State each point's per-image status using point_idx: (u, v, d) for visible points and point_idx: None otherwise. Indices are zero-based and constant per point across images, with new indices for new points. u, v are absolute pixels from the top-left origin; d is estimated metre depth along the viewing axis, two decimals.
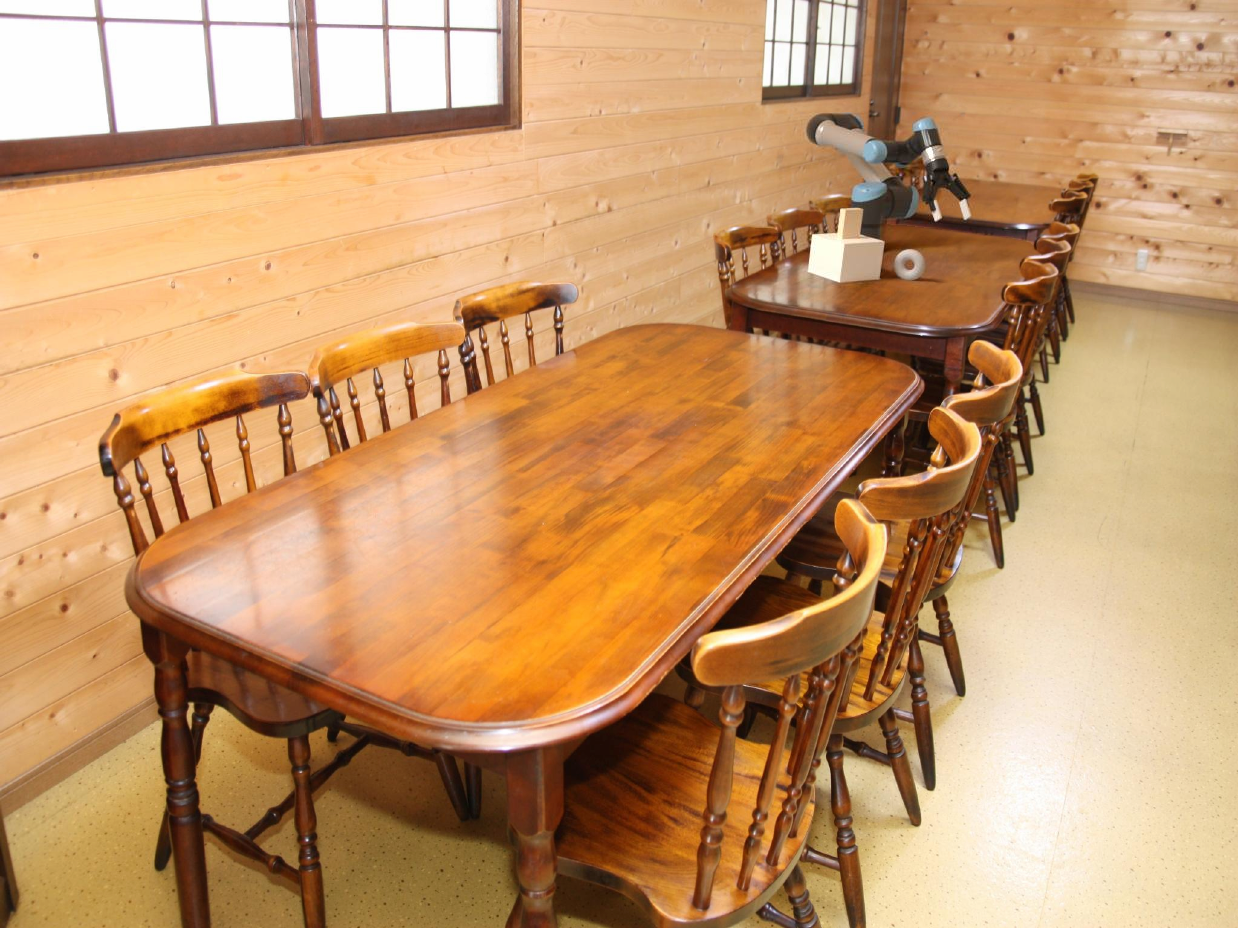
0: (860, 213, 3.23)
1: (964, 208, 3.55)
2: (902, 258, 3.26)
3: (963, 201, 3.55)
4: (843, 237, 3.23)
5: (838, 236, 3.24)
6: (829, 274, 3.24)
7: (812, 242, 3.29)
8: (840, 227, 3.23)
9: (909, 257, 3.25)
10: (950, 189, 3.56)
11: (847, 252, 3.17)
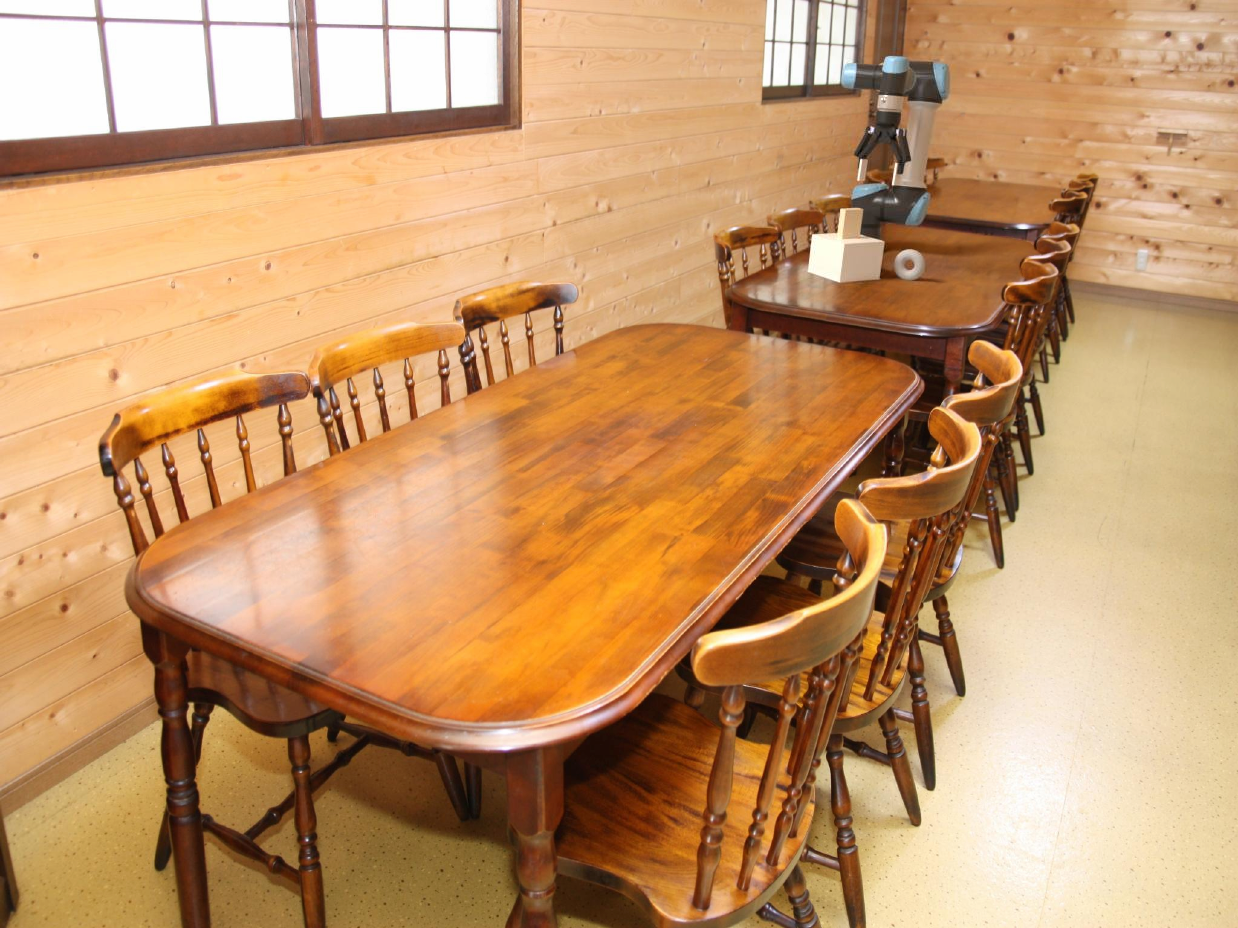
0: (860, 213, 3.23)
1: None
2: (902, 258, 3.26)
3: None
4: (843, 237, 3.23)
5: (838, 236, 3.24)
6: (829, 274, 3.24)
7: (812, 242, 3.29)
8: (840, 227, 3.23)
9: (909, 257, 3.25)
10: None
11: (847, 252, 3.17)
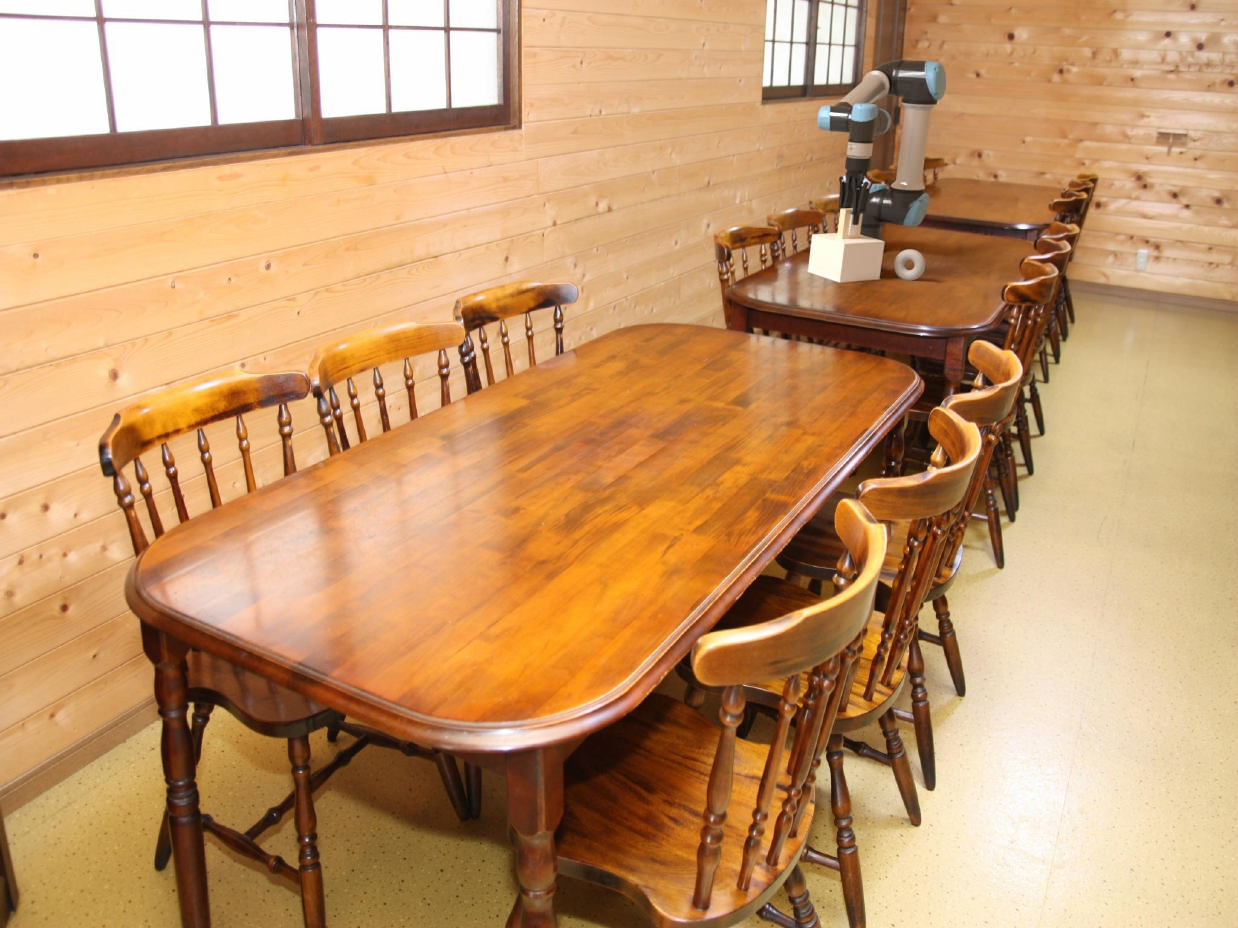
0: None
1: None
2: (902, 258, 3.26)
3: None
4: (843, 237, 3.23)
5: (838, 236, 3.24)
6: (829, 274, 3.24)
7: (812, 242, 3.29)
8: (840, 227, 3.23)
9: (909, 257, 3.25)
10: None
11: (847, 252, 3.17)
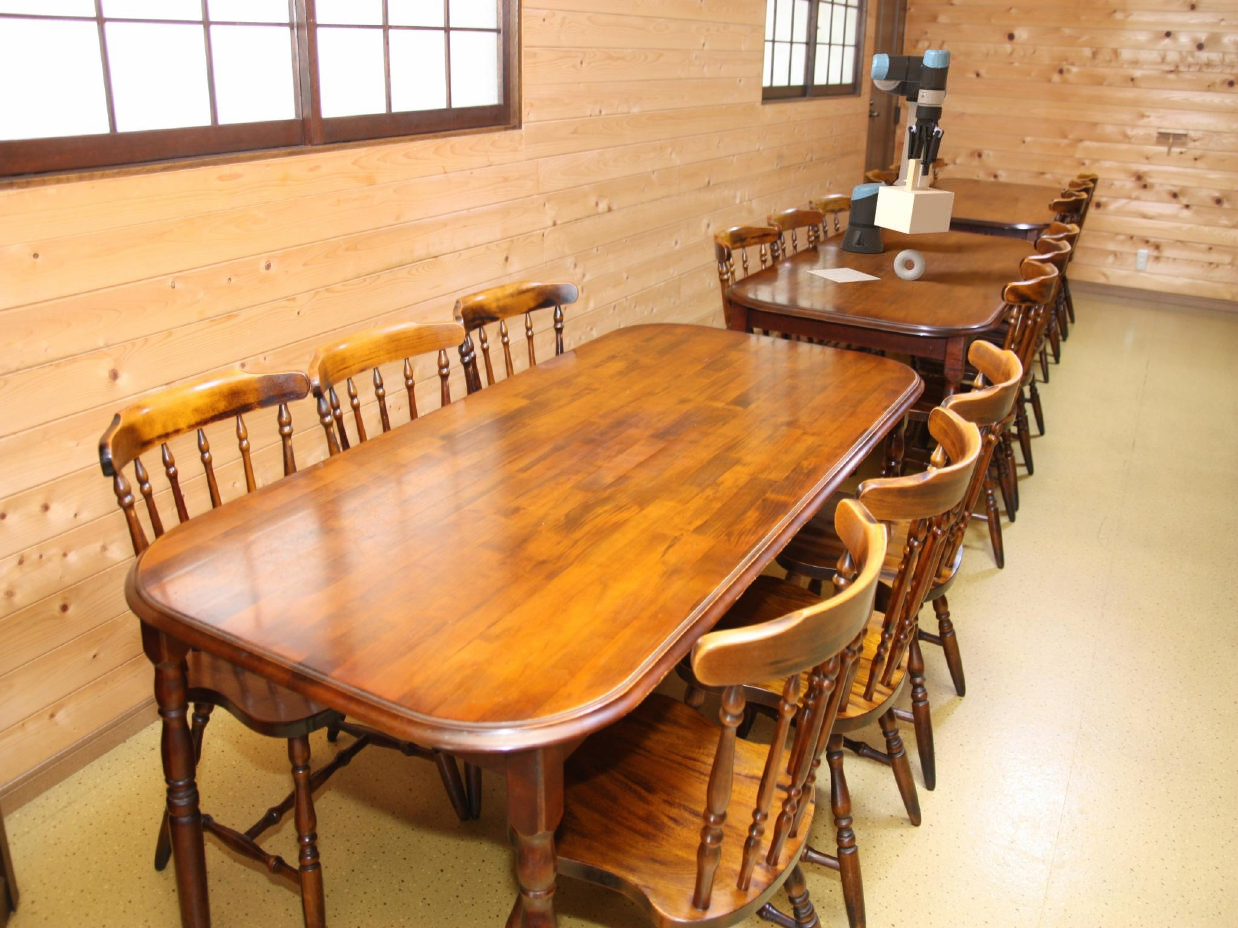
0: None
1: None
2: (902, 258, 3.26)
3: None
4: (912, 188, 3.16)
5: (907, 187, 3.17)
6: (897, 226, 3.17)
7: (879, 194, 3.22)
8: (909, 178, 3.15)
9: (909, 257, 3.25)
10: None
11: (917, 203, 3.10)
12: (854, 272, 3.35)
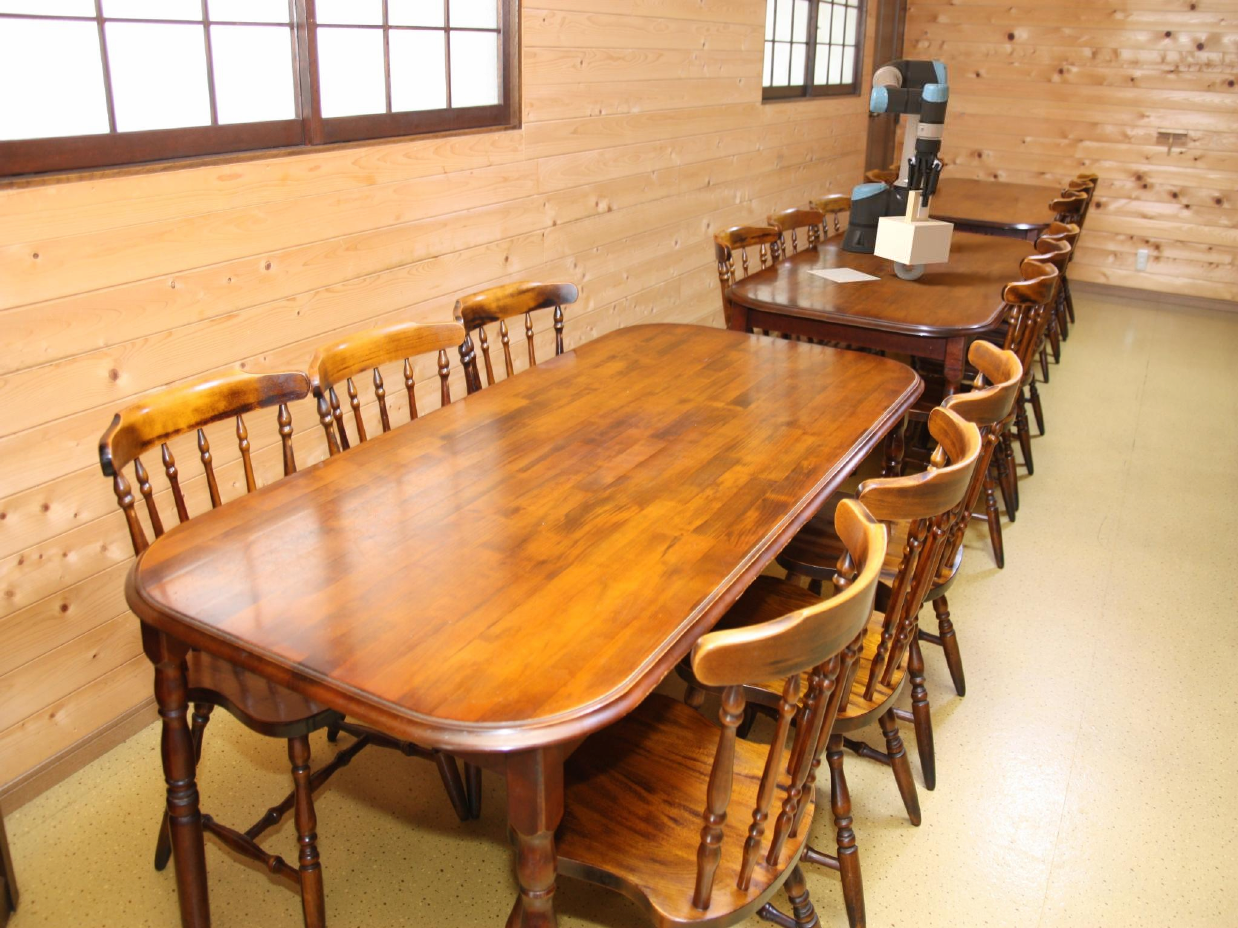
0: None
1: None
2: None
3: None
4: (912, 220, 3.19)
5: (907, 218, 3.20)
6: (897, 257, 3.20)
7: (879, 225, 3.25)
8: (909, 209, 3.19)
9: None
10: None
11: (917, 234, 3.13)
12: (854, 272, 3.35)
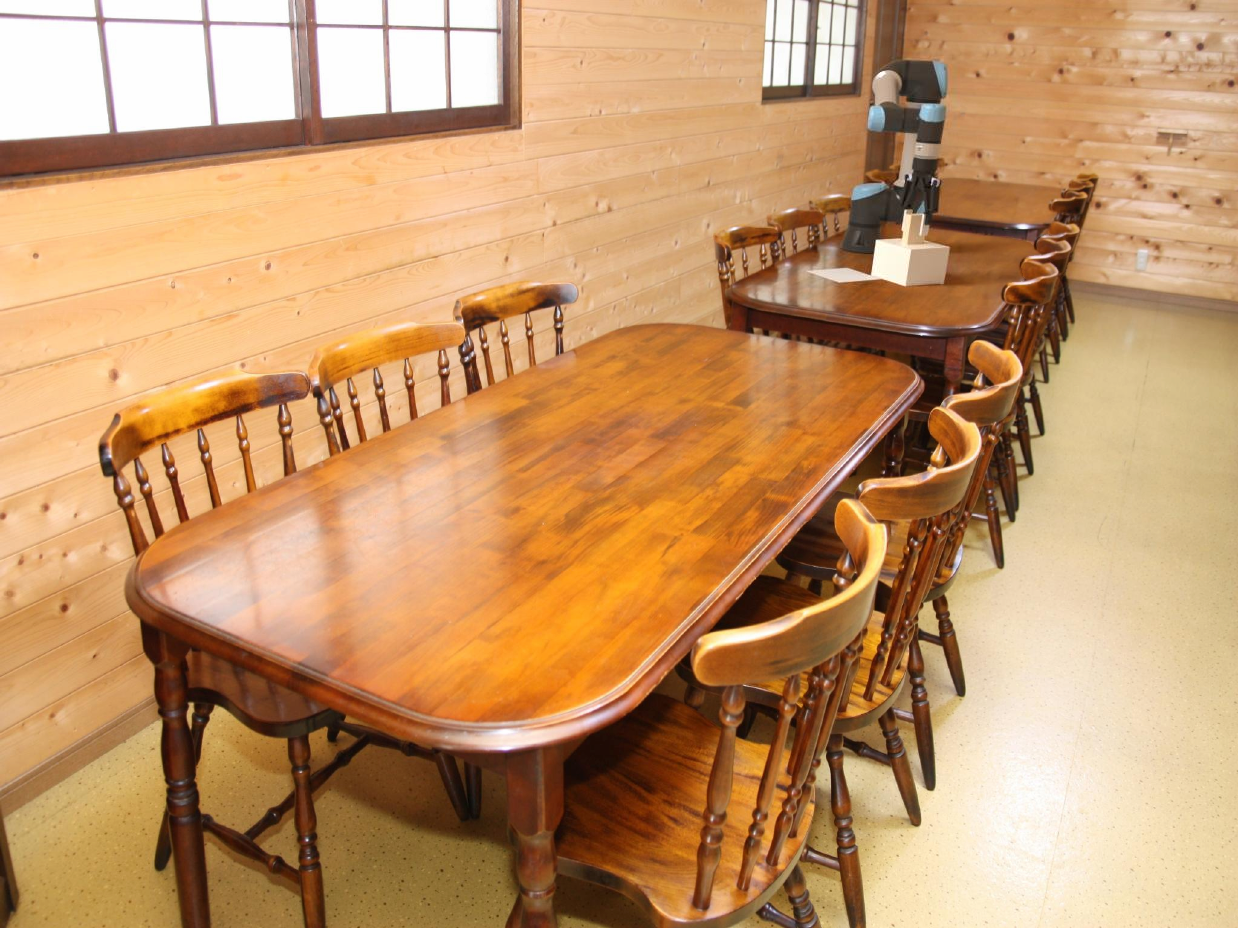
0: None
1: None
2: None
3: None
4: (908, 243, 3.22)
5: (903, 241, 3.23)
6: (894, 280, 3.23)
7: (876, 247, 3.28)
8: (906, 232, 3.22)
9: None
10: None
11: (913, 258, 3.16)
12: (854, 272, 3.35)
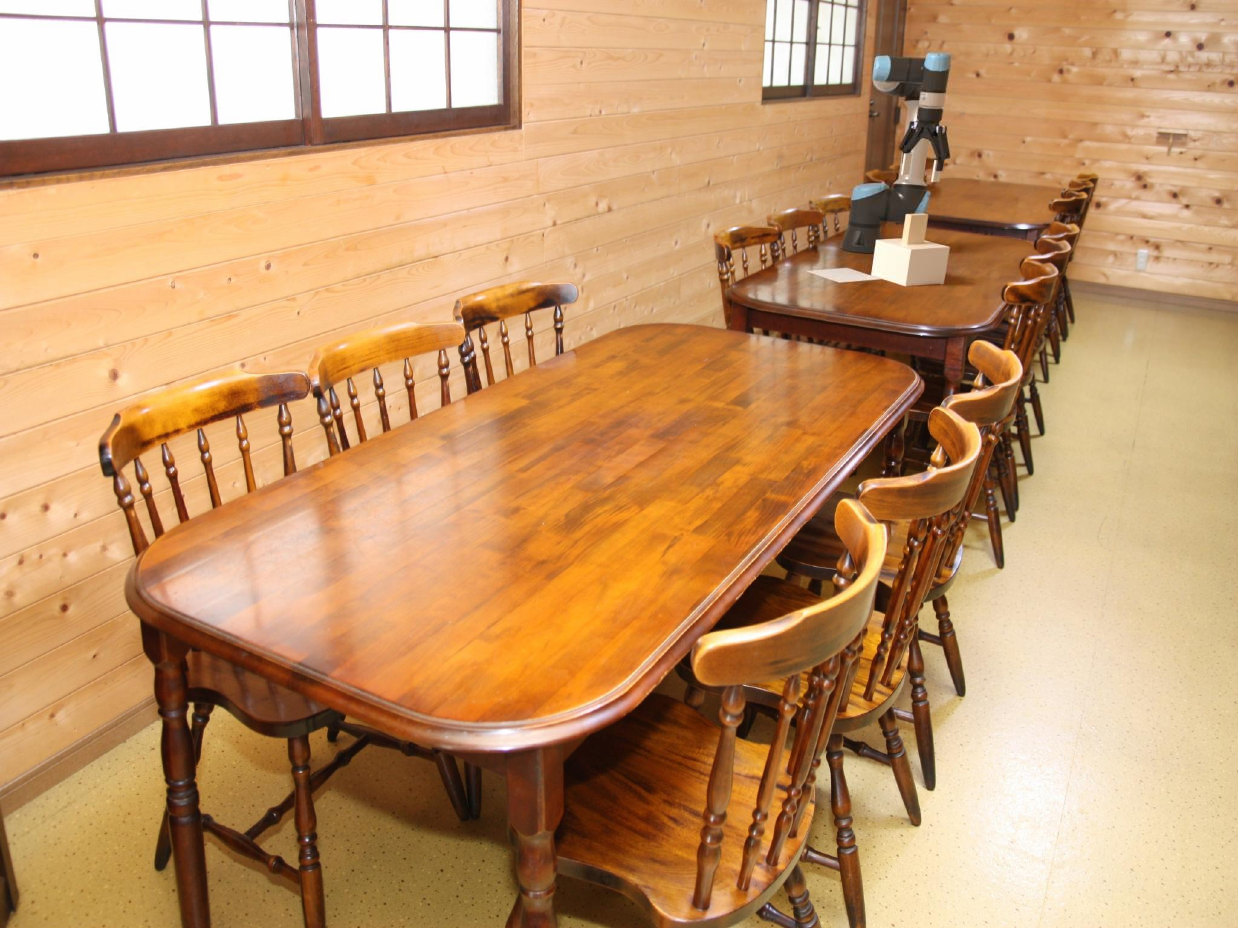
0: (925, 219, 3.22)
1: None
2: None
3: None
4: (908, 243, 3.22)
5: (903, 241, 3.23)
6: (894, 280, 3.23)
7: (876, 247, 3.28)
8: (906, 232, 3.22)
9: None
10: None
11: (913, 258, 3.16)
12: (854, 272, 3.35)
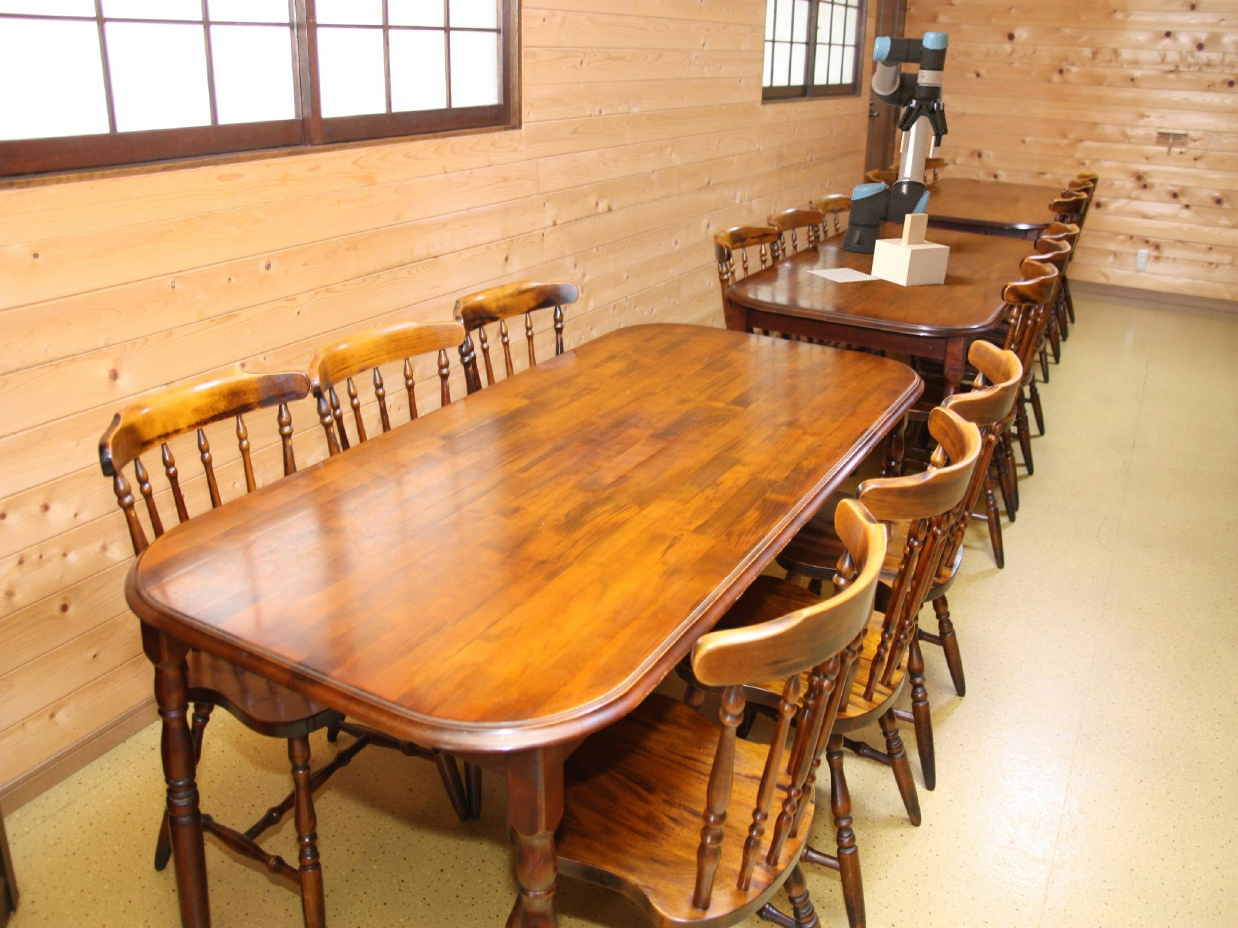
0: (925, 219, 3.22)
1: None
2: None
3: None
4: (908, 243, 3.22)
5: (903, 241, 3.23)
6: (894, 280, 3.23)
7: (876, 247, 3.28)
8: (906, 232, 3.22)
9: None
10: None
11: (913, 258, 3.16)
12: (854, 272, 3.35)
